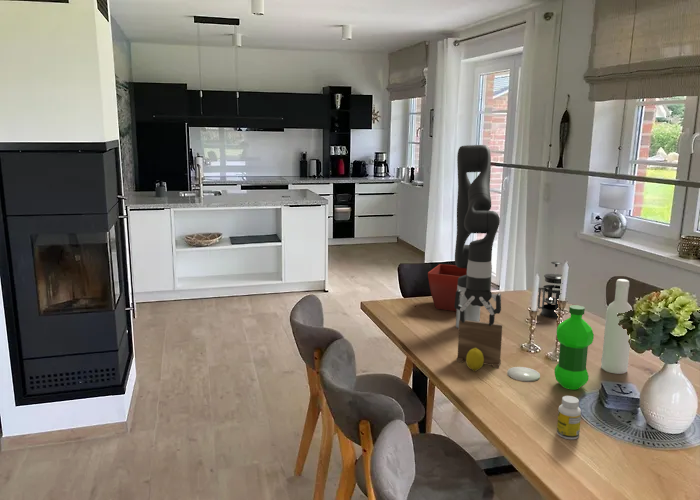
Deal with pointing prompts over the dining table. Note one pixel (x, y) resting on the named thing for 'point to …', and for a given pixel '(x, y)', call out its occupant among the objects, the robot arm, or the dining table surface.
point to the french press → (550, 294)
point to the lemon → (475, 359)
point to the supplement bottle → (569, 418)
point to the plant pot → (445, 285)
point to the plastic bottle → (573, 349)
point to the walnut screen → (480, 341)
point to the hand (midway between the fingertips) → (476, 323)
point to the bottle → (616, 333)
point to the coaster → (523, 374)
